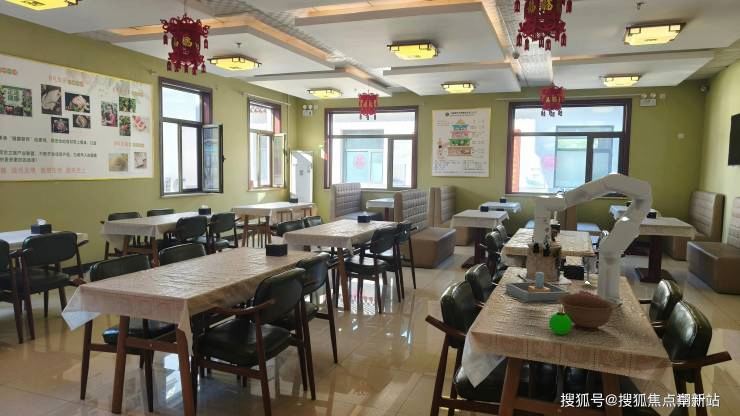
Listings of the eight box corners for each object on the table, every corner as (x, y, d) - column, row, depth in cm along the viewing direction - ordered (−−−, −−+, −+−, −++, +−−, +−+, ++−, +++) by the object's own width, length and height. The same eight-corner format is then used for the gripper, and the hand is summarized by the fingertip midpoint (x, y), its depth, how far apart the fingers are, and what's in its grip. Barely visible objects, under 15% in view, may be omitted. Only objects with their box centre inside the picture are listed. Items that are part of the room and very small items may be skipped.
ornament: (565, 331, 193) (567, 305, 192) (575, 338, 184) (576, 311, 184) (545, 330, 192) (546, 305, 191) (553, 337, 184) (554, 311, 183)
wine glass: (580, 283, 276) (582, 256, 275) (579, 280, 284) (580, 254, 283) (596, 284, 274) (597, 257, 273) (594, 281, 282) (595, 255, 280)
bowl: (604, 320, 207) (605, 294, 206) (626, 338, 185) (628, 309, 184) (550, 318, 209) (551, 292, 208) (565, 335, 187) (566, 306, 186)
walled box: (569, 301, 237) (570, 291, 237) (527, 302, 233) (527, 293, 233) (545, 290, 259) (545, 281, 259) (505, 291, 255) (506, 282, 255)
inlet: (550, 294, 246) (550, 289, 246) (536, 294, 245) (536, 289, 245) (542, 290, 254) (542, 285, 254) (528, 290, 253) (528, 286, 252)
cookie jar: (527, 284, 273) (530, 226, 271) (515, 274, 298) (518, 221, 295) (573, 285, 272) (575, 227, 270) (557, 275, 297) (560, 222, 294)
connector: (544, 293, 248) (545, 273, 247) (537, 293, 247) (538, 273, 246) (540, 291, 252) (541, 271, 251) (533, 291, 251) (534, 272, 250)
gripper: (558, 222, 239) (557, 257, 240) (540, 219, 256) (538, 252, 257) (544, 222, 238) (543, 258, 239) (526, 219, 255) (525, 252, 256)
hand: (540, 255), depth 248 cm, fingers open, 9 cm apart
